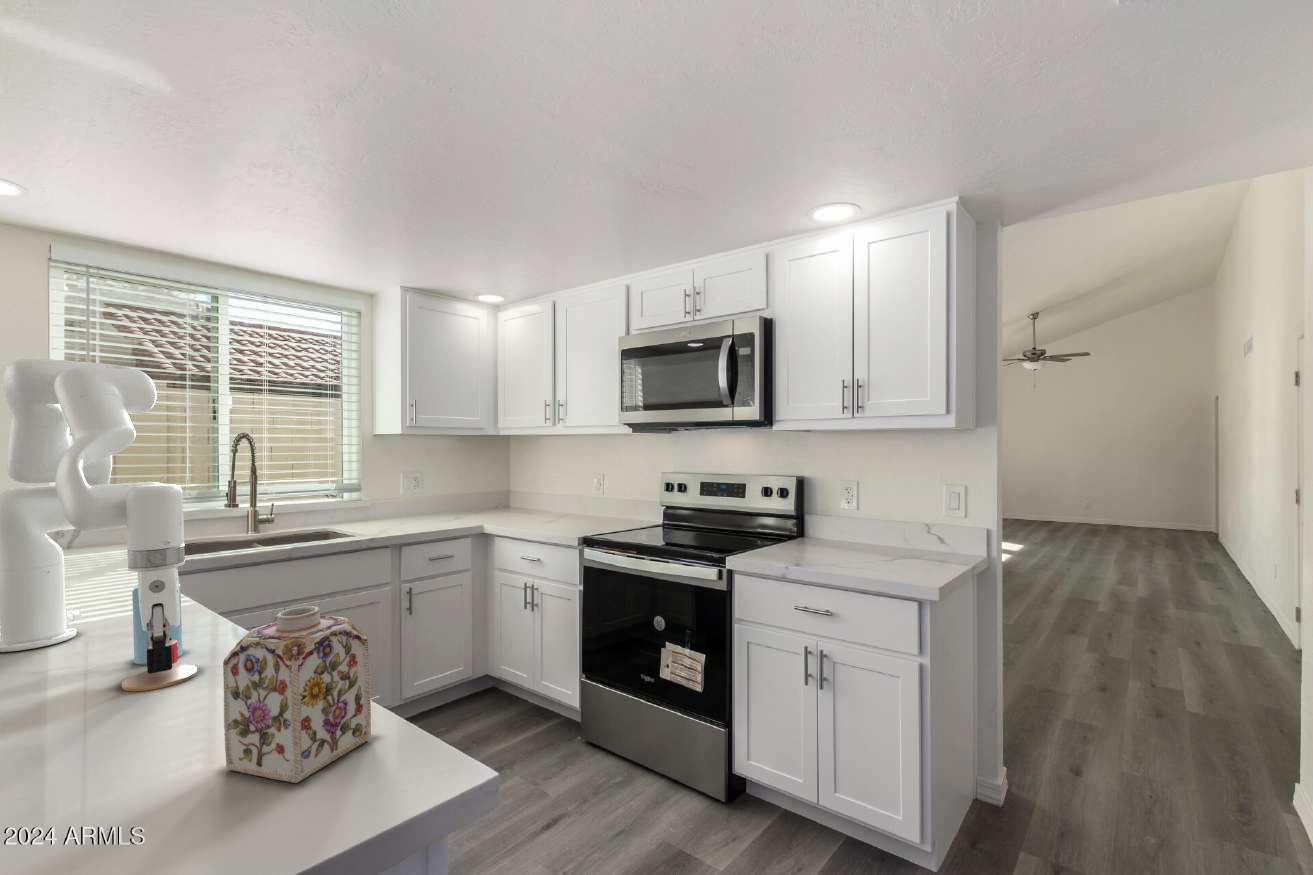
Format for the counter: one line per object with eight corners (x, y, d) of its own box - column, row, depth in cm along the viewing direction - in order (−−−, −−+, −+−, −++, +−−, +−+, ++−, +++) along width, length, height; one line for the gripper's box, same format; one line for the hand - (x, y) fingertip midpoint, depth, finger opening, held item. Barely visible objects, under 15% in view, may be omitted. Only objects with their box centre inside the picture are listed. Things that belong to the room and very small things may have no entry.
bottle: (149, 653, 121) (146, 558, 120) (190, 649, 122) (187, 556, 122) (125, 666, 114) (122, 565, 114) (168, 662, 115) (165, 563, 115)
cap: (169, 666, 105) (168, 646, 105) (141, 668, 105) (140, 648, 105) (182, 658, 109) (182, 639, 109) (155, 660, 109) (155, 640, 109)
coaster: (147, 670, 111) (147, 667, 111) (209, 666, 112) (209, 662, 112) (106, 693, 101) (105, 689, 101) (174, 688, 102) (174, 684, 102)
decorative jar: (374, 739, 83) (370, 601, 83) (297, 786, 72) (293, 627, 72) (304, 727, 87) (300, 596, 87) (221, 770, 76) (217, 620, 76)
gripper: (185, 562, 102) (189, 675, 102) (183, 549, 116) (186, 649, 116) (124, 569, 98) (128, 688, 98) (130, 554, 111) (133, 659, 111)
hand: (160, 665), depth 107 cm, fingers open, 4 cm apart
